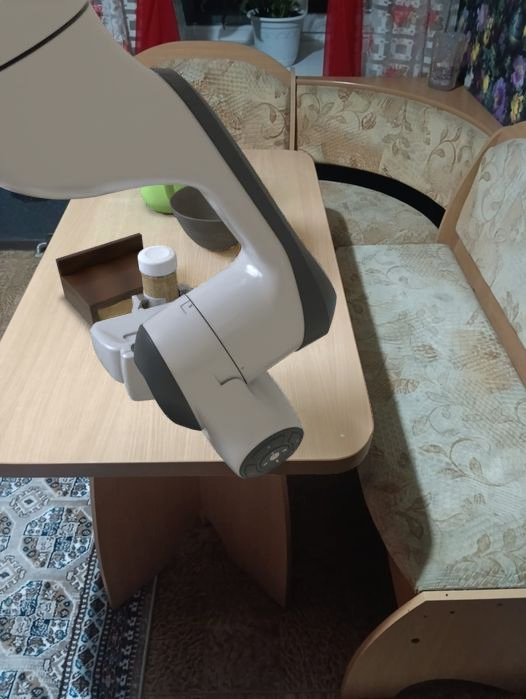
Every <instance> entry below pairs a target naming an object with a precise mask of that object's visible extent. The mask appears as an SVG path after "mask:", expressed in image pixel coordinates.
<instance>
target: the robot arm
mask: <svg viewBox="0 0 526 699" xmlns="http://www.w3.org/2000/svg"><path fill="white" fill-rule="evenodd" d="M155 185H186V186H191V187H194V188H196V189H198V190H199V191H200V192H201V193H202V195H203V196H204V197H205V199H206V200H207V201H208V203H209V204H210V205H211V206H212V208H213V209H214V210H215V212H216V213H217V214H218V216H219V217H220V218H221V220H222V221H223V222H224V223H225V225H226V226H227V227H228V229H229V230H230V231H231V233H232V234H233V235H234V236H235V238H236V239H237V240H238V242H239V244H240V246H241V247H240V251H239V253H238V255H237V256H236V257H235V259H234V260H233V261H232V262H231V263H229V265H227V266H225V267H224V268H223V269H221V270H220V271H218V272H217V273H216V274H214V275H213V276H211V277H209V278H208V279H206V280H205V281H203V282H201V283H200V284H199V285H197V286H196V287H191V286H190V285H189V284H188V283H187V282H182V283H179V284H178V283H177V284H178V291H179V298H178V299H176V300H175V301H173V302H170V303H166V304H163V305H159V306H155V307H151V308H148V305H147V304H148V300H147V298H146V297H145V296H144V293H143V294H139V295H134V296H132V298H131V300H132V301H131V302H132V308H131V312H129V313H126V314H122V315H118V316H114V317H111V318H107V319H103V320H100V321H99V322H96V323H95V324H94V325H93V326H92V327H91V326H90V327H91V328H90V329H89V334H90V339H91V340H90V341H91V344H92V347H93V351H94V354H95V356H96V357H97V359H98V361H99V362H100V364H101V365H102V367H103V368H104V370H105V371H106V372H107V374H108V375H109V376H110V377H111V379H113V380H114V381H116V382H118V383H120V384H124V387H125V390H126V392H127V396H128V397H129V399H130V400H132V401H133V402H145V401H152V400H153V401H155V403H156V404H157V406H158V407H159V409H160V410H161V411H162V413H163V414H164V415H165V416H166V417H167V419H169V420H170V421H171V422H172V423H174V424H175V425H177V426H181V427H182V428H186V429H188V430H192V431H193V430H194V431H198V432H201V433H202V434H203V436H204V437H205V439H206V440H207V442H208V443H209V445H210V446H211V447H212V448H213V450H214V452H216V454H217V455H218V456H219V457H220V458H221V460H222V461H223V462H224V463H225V464H226V465H227V466H228V467H229V469H230V470H231V471H232V472H233V473H234V474H236V476H238V477H239V478H242V479H254V478H257V477H260V476H264V475H267V474H269V473H270V472H272V471H273V470H274V469H276V468H277V467H279V466H280V465H282V464H283V463H284V462H286V461H287V460H289V458H291V457H292V456H293V455H294V454H295V452H296V451H297V450H298V449H299V447H300V445H301V443H302V441H303V440H304V437H305V427H304V425H303V423H302V421H301V419H300V417H299V415H298V413H297V412H296V409H295V408H294V406H293V405H292V403H291V401H290V400H289V398H288V397H287V395H286V394H285V392H284V391H283V389H282V388H281V387H280V385H279V384H278V382H277V381H276V380H275V378H274V377H273V376H272V375H271V373H270V372H269V370H271V369H272V368H274V367H275V366H276V365H277V364H279V363H281V362H282V361H283V360H285V359H286V358H288V357H289V356H291V355H292V354H293V353H297V352H300V351H301V350H302V349H305V348H306V347H308V346H310V345H311V344H313V343H315V342H317V341H318V340H320V339H322V338H324V337H325V336H327V335H328V333H329V331H330V329H331V326H332V323H333V320H334V316H335V313H336V307H337V299H338V296H337V293H336V292H337V291H336V289H335V287H334V285H333V282H332V280H331V278H330V277H329V275H328V273H327V271H326V269H325V268H324V267H323V265H322V264H321V263H320V262H319V261H318V260H317V258H316V257H315V256H314V255H313V254H312V253H311V251H310V250H308V248H307V247H306V245H305V244H304V243H303V242H302V240H301V239H300V237H299V236H298V235H297V233H296V231H295V230H294V228H293V226H292V225H291V224H290V222H289V221H288V219H287V218H286V216H285V215H284V213H283V211H282V210H281V208H280V207H279V205H278V204H277V202H276V201H275V199H274V198H273V196H272V195H271V193H270V191H269V190H268V188H267V187H266V185H265V184H264V182H263V180H262V179H261V177H260V176H259V174H258V172H257V171H256V169H255V168H254V167H253V165H252V164H251V162H250V160H249V159H248V157H247V156H246V155H245V153H244V151H243V150H242V149H241V147H240V146H239V144H238V143H237V141H236V139H235V138H234V137H233V135H232V134H231V133H230V131H229V129H228V128H227V127H226V126H225V124H224V123H223V120H222V119H221V118H220V117H219V115H218V114H217V112H216V111H215V110H214V109H213V107H212V106H211V105H210V103H209V102H208V101H207V100H206V98H205V97H203V95H202V94H201V93H200V92H199V90H197V89H196V88H195V86H193V84H191V83H190V82H189V81H188V80H187V79H186V78H185V77H183V76H182V75H181V74H179V73H178V71H175V70H174V69H172V68H170V67H148V66H147V65H145V64H144V63H142V62H141V61H139V60H138V59H136V57H134V56H133V55H132V54H131V53H130V52H129V51H127V49H126V48H124V47H123V46H122V45H121V44H120V43H119V42H118V41H117V39H116V38H115V37H114V36H113V35H112V33H111V32H110V31H109V30H108V29H107V27H106V25H105V24H104V23H103V21H102V20H101V18H100V17H99V15H98V13H97V12H96V10H95V8H94V6H93V4H92V3H91V1H90V0H0V188H2V189H4V190H7V191H10V192H12V193H16V194H19V195H23V196H27V197H28V196H29V197H32V198H38V199H47V200H80V199H81V200H83V199H90V198H96V197H97V198H98V197H101V196H102V197H103V196H106V195H111V194H115V193H119V192H125V191H129V190H134V189H141V188H140V187H147V186H155Z"/></svg>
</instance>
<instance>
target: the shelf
mask: <svg viewBox="0 0 526 699" xmlns="http://www.w3.org/2000/svg"><path fill="white" fill-rule="evenodd" d="M143 240H144V239H143V234H142V233H140V232H137V233H134V234H130V235H128V236H124V237H121V238H118V239H115V240H112V241H108V242H105V243H101V244H97V245H95V246H92V247H90V248H89V247H88V248H86V249H83V250H80V251H76V252H73V253H70V254H67V255H64V256H61V257H58V258H55V259H54V260H55V263H56V268H57V272H58V276H59V279H60V283H61V287H62V290H63V295H64V299H65V300H66V301H67V302H68V303H69V304H70V306H72V307H73V308H74V310H75V311H76V312H77V313H78V314H79V315H80V317H82V318H83V320H85V322H86V323H87V324H88V325H89V326H90V327H92V326H93V325H94V324H95V323H96V322H99V321H101V319H100V315H99V314H100V313H99V311H101V310H103V309H106V308H109V307H112V306H114V305H117V304H120V303H122V302H125V301H127V300H130V299H132V296H134V295H139V294H144V293H143V289H144V288H143V281H142V274H141V271H140V269H139V263H138V254H139V253H140V251H142V250H143V249H145V248H144V241H143Z"/></svg>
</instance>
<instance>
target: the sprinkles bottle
mask: <svg viewBox="0 0 526 699" xmlns="http://www.w3.org/2000/svg"><path fill="white" fill-rule="evenodd" d="M176 252H177V251H176V250H175V249H174V248H172V247H170V246H167V245H151V246H148V247H145V248H144V249H143V250H142V251H140V253H139V254H138V263H139V269H140V271H141V274H142V281H143V288H144V289H143V294H144V296H145V297H146V298H147V300H148V304H147V305H148V308H151V307H155V306H159V305H163V304H166V303H170V302H173V301H175V300H176V299H178V298H179V291H178V274H177V270H178V256H177V253H176Z"/></svg>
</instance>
